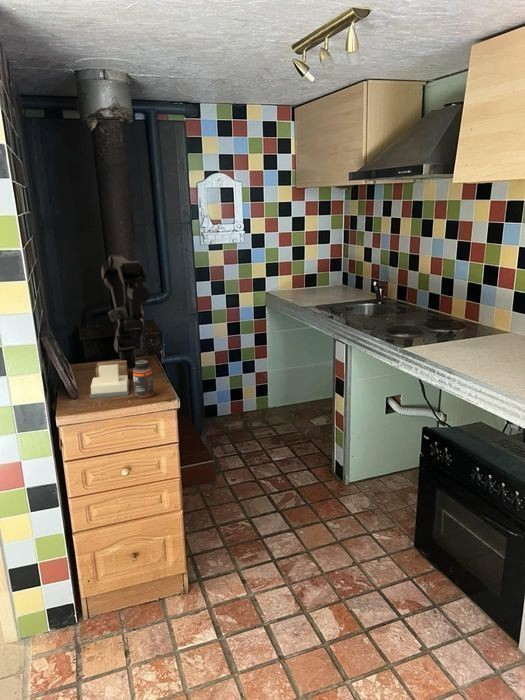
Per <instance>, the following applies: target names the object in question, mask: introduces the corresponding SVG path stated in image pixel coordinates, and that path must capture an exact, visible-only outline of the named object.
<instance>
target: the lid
mask: <svg viewBox="0 0 525 700" xmlns="http://www.w3.org/2000/svg"><path fill="white" fill-rule="evenodd" d="M98 370H99V377H93V378H92V381H91V384H90V393H91V394H99V393H112V392H124V391H127V389H128V380H129V378H128V375H129V374H128V375H122V376H119V370H118V364H115V365H100V366H99V368H98Z"/></svg>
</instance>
